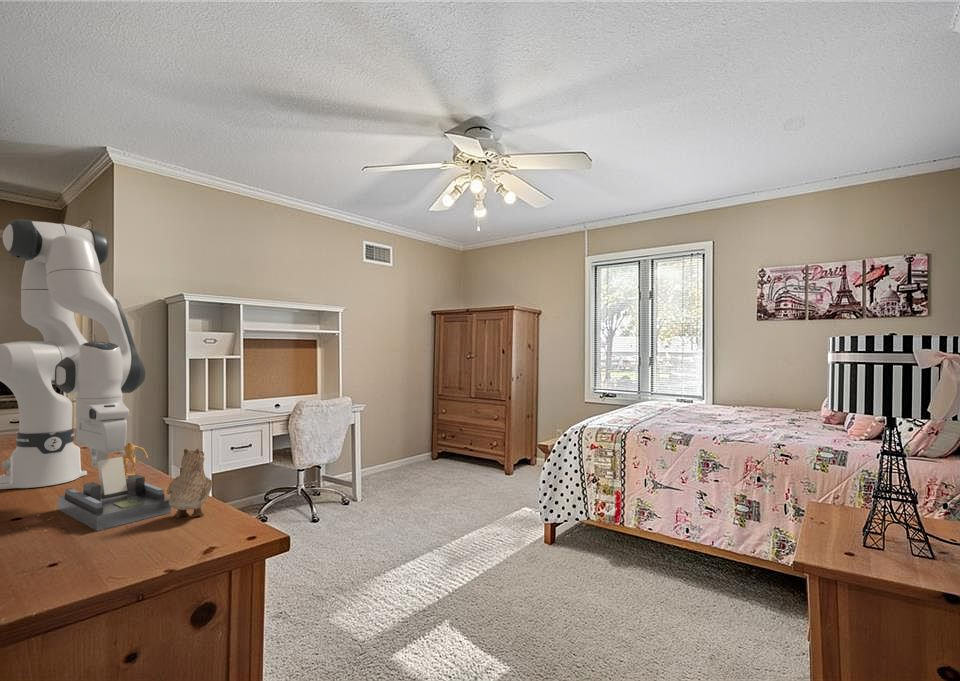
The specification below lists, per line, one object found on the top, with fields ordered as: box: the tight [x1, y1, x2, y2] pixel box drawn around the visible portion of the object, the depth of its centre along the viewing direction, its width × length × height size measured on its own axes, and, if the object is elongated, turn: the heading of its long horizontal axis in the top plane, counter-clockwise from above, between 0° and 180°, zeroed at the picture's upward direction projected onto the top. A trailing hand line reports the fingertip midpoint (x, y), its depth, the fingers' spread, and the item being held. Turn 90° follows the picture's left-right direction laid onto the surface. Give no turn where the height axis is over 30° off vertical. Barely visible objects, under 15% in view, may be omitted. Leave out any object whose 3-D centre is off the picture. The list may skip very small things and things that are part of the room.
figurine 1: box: [111, 441, 149, 478], centre depth 131 cm, size 8×6×12 cm
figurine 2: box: [166, 448, 213, 519], centre depth 109 cm, size 9×10×15 cm
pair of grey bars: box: [64, 478, 165, 513], centre depth 112 cm, size 19×13×2 cm
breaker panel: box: [57, 473, 172, 532], centre depth 112 cm, size 23×14×7 cm, turn 56°
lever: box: [97, 456, 128, 499], centre depth 113 cm, size 2×5×9 cm, turn 146°
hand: (98, 466), depth 118 cm, fingers closed
